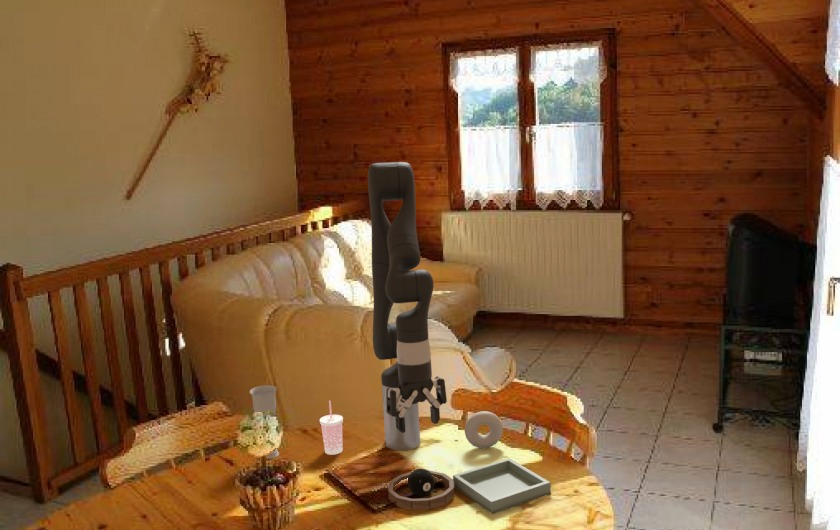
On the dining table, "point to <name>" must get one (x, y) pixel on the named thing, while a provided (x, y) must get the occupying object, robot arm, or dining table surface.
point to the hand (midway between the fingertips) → (418, 427)
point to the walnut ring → (423, 502)
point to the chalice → (264, 404)
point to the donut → (481, 419)
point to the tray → (501, 485)
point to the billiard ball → (420, 482)
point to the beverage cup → (332, 432)
